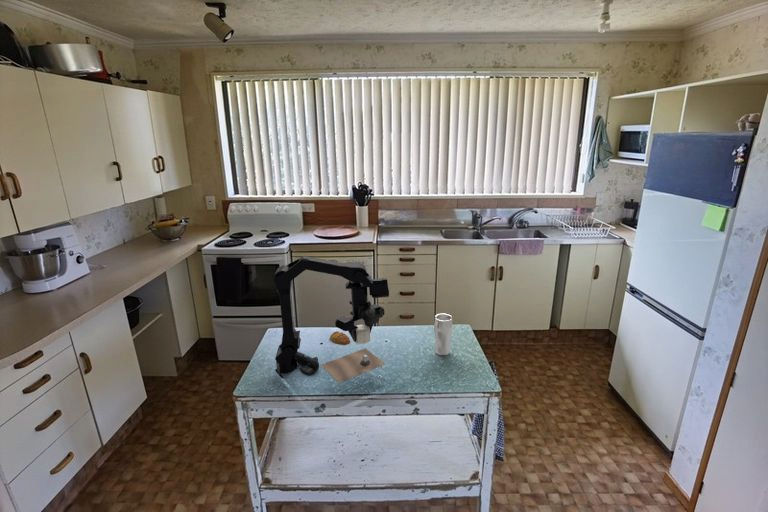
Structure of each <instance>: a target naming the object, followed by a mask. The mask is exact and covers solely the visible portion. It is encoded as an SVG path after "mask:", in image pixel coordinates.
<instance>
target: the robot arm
mask: <svg viewBox="0 0 768 512" xmlns="http://www.w3.org/2000/svg"><path fill="white" fill-rule="evenodd" d="M305 271H312V272H315V273H316V272H317V273H322V274H327V275H328V274H329V275H333V276H337V277H342V278H344V279H345V280H346V281H347V282H346V283H345V289H346V290H350V293H351V294H350V298H351V300H349V304H350V305H351V310H350V312H349V314H350V315H351V316H352V317H348V316H345V315H344V316H342V317H339V318H337V319H336V320H335V322H334V323H335V324H334V325H335V327H336V328H338V329H340V330H341V331H343V332H348V333H349V335H350V337H351V338H352V341H353V342H354V341H355V342H356V340H357V335H356V329H357V328H358V327H357V325H356V322H359V321H361V320H363V323H364V325H367V326H369V328H370V334H371V333H372V330H373V326H374V325H375V324H378V323H379V321H380V319H381V318H383V317H384V315H385V308H384V307H383V306H380V305H378V304H376V303H373V304H371V301H370V300H368V299H369V297H368V296H371V298H372V299H377V298H379V299H380V298H388V297H389V298H390V289H389V283H388V278H387V277H381V278H372V276H371V275H370V274H369V273H368V271H367V268H366V266H365V265H364V264H363V263H362V262H359V261H357V262H356V261H355V262H354V261H351V262H350V261H348V262H339V261H337V262H336V261H331V260H326V259H321V258H316V257H311V256H308V255H302V256H300V257H299V258H298V259H295V260H293V261H291V262H289V263H288V264H287V265H285V264H284V265H280V266H279V267H278V268H277V269H276V271H275V274H274V276H273V283H274V287H275V290H276V292H277V294H278V296H279V304H280V315H281V316H280V317H281V325H282V326H281V327H282V337H281V343H280V344H279V345H278V347H277V350H276V355H275V358H274V360H275V364H276V368H275V372H276V373H277V375H278V376H279V377H280V379H284V377H283V375H282V374H285V375H286V374H290V373H292V372H293V371H295V370H296V369H297V368H298V362H297V358H296V357H295V354H297V351H298V352H299V349H300V347H301V342H302V338H301V337H300V333H301V330H296V327H295V321H294V320H295V319H294V309H293V298H292V297H293V296H292V288H293V280H294V279H296V278H297V277H299V276H300V275H301V274H302V273H303V272H305ZM368 293H369V294H368ZM355 342H354V343H355Z"/></svg>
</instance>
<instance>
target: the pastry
mask: <svg viewBox="0 0 768 512" xmlns="http://www.w3.org/2000/svg"><path fill="white" fill-rule="evenodd" d="M329 336H330V337H329V340H330V342H332V343H334V344H337V345H342V346H343V345H344V346H345V345H346V346H347V345H348V344H351V342H352V341H351V340H350V337H349V336H348V335H347V334H345V333H344V331H343V332H340V331H333V333H331V335H329Z"/></svg>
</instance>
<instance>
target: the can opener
mask: <svg viewBox="0 0 768 512" xmlns="http://www.w3.org/2000/svg"><path fill="white" fill-rule="evenodd" d="M295 357H296V358H297V363H299V364H300V365H302V366H301V367H300V368H299V371H300V372H301V373H302V374H305V375H307V376H312V375H314V374H315V373H316V371H318V370H319V368H320V362H319V358H318V356H315V357H312V356H310V355H307V354H305V353H302V352H300V351H299V350H298V351H297V354H295Z"/></svg>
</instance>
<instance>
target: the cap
mask: <svg viewBox="0 0 768 512" xmlns="http://www.w3.org/2000/svg"><path fill="white" fill-rule="evenodd" d="M356 326H357V327H358V328H357V329H356V335H357V340H356V342H355V341H353V343H356V344H358V345H360V344H361V345H362V344H363V345H364V344H367V343H369V342H370V341H371V333H370V328H369V326H367V325H365V324H357V325H356Z"/></svg>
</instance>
